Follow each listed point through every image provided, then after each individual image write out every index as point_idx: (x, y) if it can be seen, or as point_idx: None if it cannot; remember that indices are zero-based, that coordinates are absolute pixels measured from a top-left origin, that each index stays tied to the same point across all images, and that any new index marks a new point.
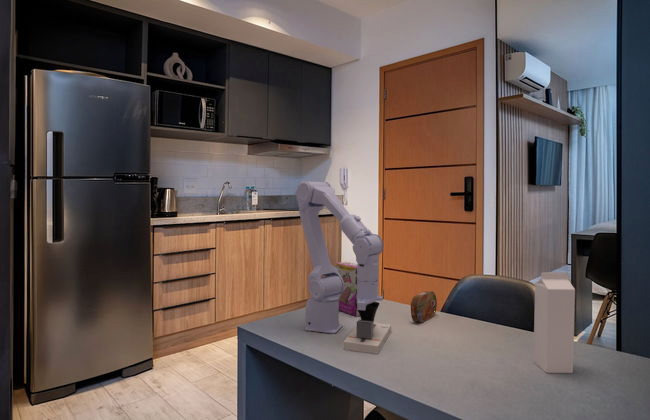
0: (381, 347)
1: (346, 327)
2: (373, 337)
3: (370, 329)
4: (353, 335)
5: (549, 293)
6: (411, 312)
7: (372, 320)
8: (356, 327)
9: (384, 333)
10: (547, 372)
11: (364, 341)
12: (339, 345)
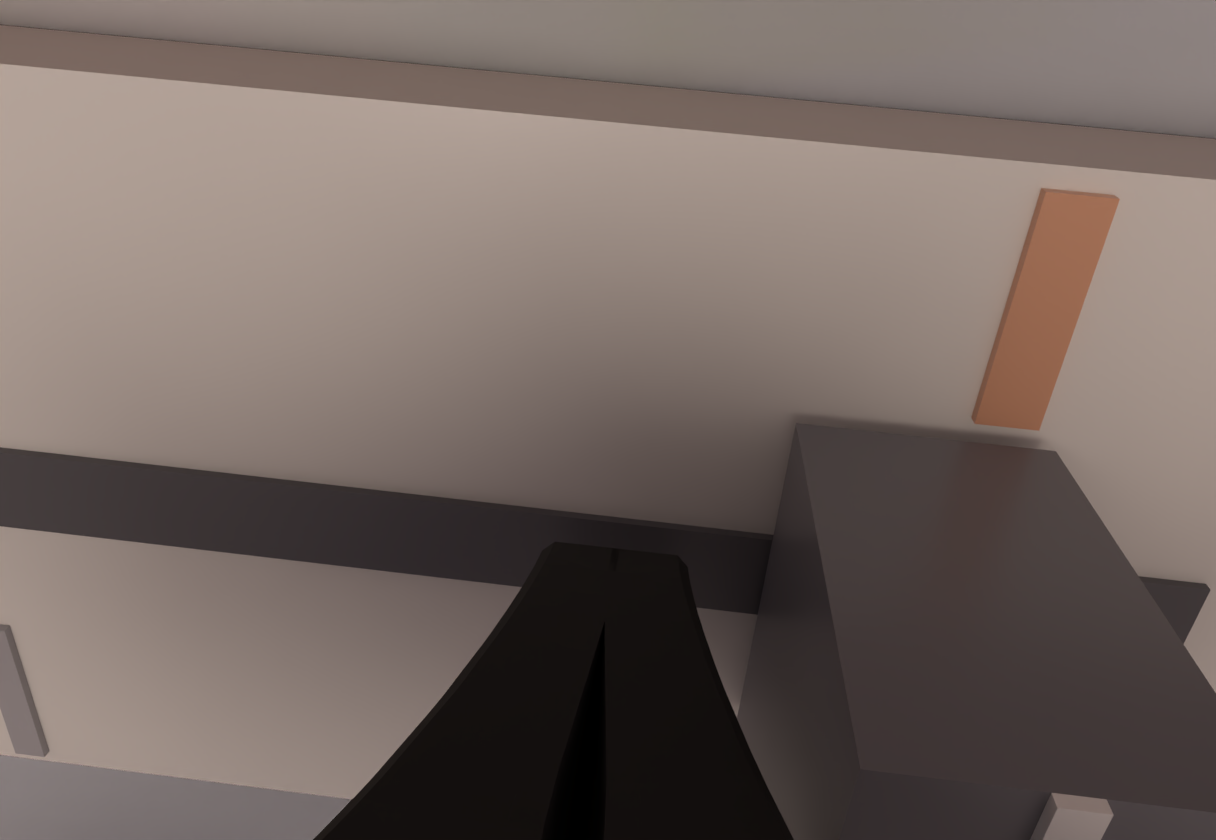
0: (983, 119)
1: (42, 819)
2: (815, 405)
3: (1153, 659)
4: None
5: None
6: None
7: (773, 806)
8: (240, 776)
9: (381, 141)
10: None
11: (1153, 573)
12: None
